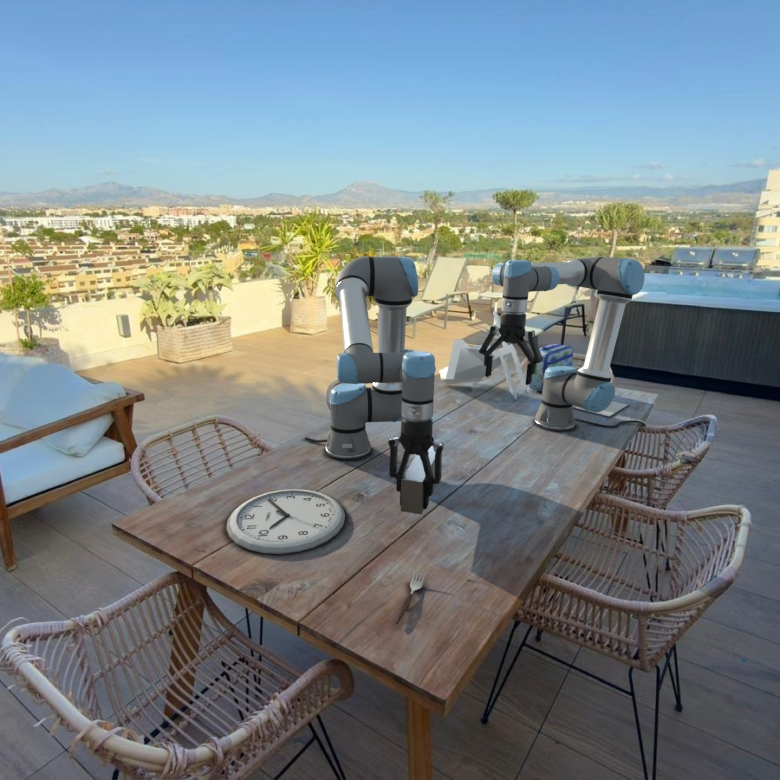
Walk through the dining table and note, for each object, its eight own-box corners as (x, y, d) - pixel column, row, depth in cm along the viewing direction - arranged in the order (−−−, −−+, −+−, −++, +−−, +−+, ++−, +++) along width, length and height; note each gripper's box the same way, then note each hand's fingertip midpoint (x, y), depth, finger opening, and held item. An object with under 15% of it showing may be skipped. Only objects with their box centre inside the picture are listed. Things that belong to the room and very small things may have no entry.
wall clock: (345, 545, 122) (213, 550, 119) (345, 551, 122) (214, 556, 120) (344, 484, 150) (238, 487, 148) (345, 490, 151) (239, 492, 148)
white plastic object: (461, 429, 252) (437, 405, 227) (444, 352, 274) (420, 323, 250) (535, 404, 240) (518, 377, 215) (510, 326, 262) (492, 293, 237)
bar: (421, 473, 149) (422, 444, 147) (439, 475, 148) (440, 446, 145) (400, 511, 129) (401, 478, 126) (421, 514, 127) (422, 482, 125)
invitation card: (608, 416, 214) (573, 407, 224) (608, 416, 214) (573, 408, 224) (628, 404, 229) (594, 396, 238) (628, 405, 229) (594, 397, 238)
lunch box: (545, 396, 239) (550, 351, 232) (524, 391, 246) (528, 347, 240) (572, 385, 256) (577, 343, 250) (552, 380, 263) (557, 339, 257)
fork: (390, 624, 100) (390, 615, 100) (415, 574, 115) (415, 567, 114) (403, 627, 99) (403, 619, 99) (426, 577, 114) (426, 569, 113)
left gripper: (375, 418, 123) (374, 506, 130) (452, 427, 118) (447, 518, 125) (384, 408, 130) (383, 492, 137) (458, 416, 125) (453, 503, 132)
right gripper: (471, 309, 163) (467, 375, 169) (549, 318, 148) (541, 390, 155) (482, 307, 168) (478, 370, 175) (558, 315, 154) (550, 384, 160)
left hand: (414, 504), depth 131 cm, fingers closed on bar, 5 cm apart
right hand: (507, 380), depth 165 cm, fingers open, 13 cm apart
